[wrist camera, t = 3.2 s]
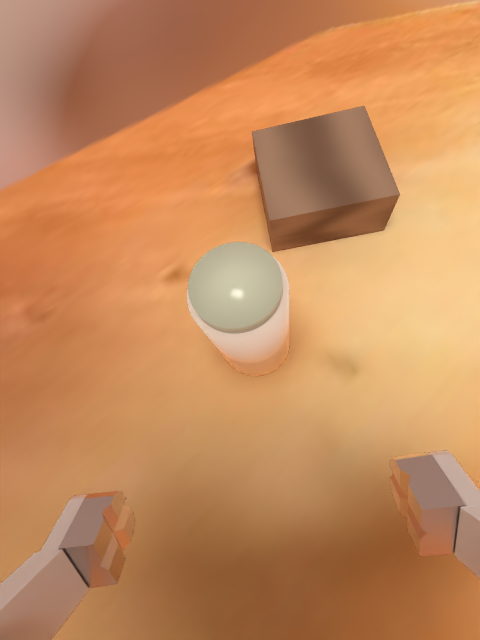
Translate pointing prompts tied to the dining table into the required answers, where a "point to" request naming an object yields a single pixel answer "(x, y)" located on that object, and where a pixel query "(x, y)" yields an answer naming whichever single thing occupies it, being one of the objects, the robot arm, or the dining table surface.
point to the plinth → (323, 179)
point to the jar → (242, 306)
